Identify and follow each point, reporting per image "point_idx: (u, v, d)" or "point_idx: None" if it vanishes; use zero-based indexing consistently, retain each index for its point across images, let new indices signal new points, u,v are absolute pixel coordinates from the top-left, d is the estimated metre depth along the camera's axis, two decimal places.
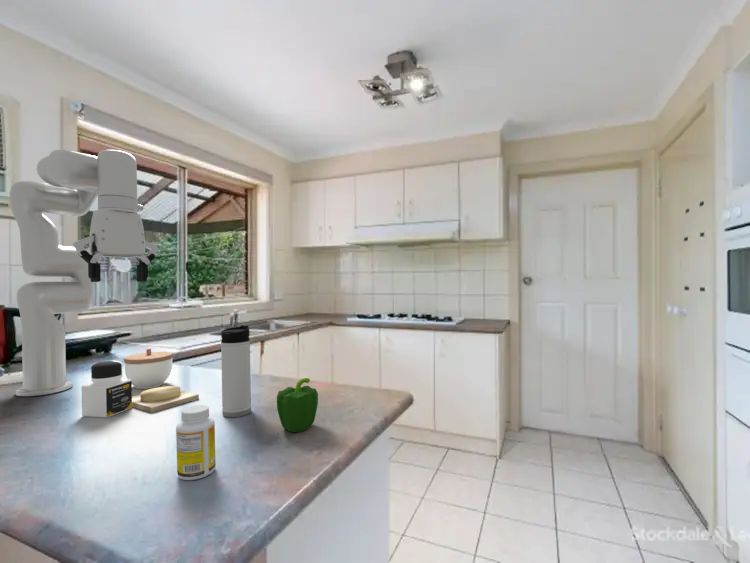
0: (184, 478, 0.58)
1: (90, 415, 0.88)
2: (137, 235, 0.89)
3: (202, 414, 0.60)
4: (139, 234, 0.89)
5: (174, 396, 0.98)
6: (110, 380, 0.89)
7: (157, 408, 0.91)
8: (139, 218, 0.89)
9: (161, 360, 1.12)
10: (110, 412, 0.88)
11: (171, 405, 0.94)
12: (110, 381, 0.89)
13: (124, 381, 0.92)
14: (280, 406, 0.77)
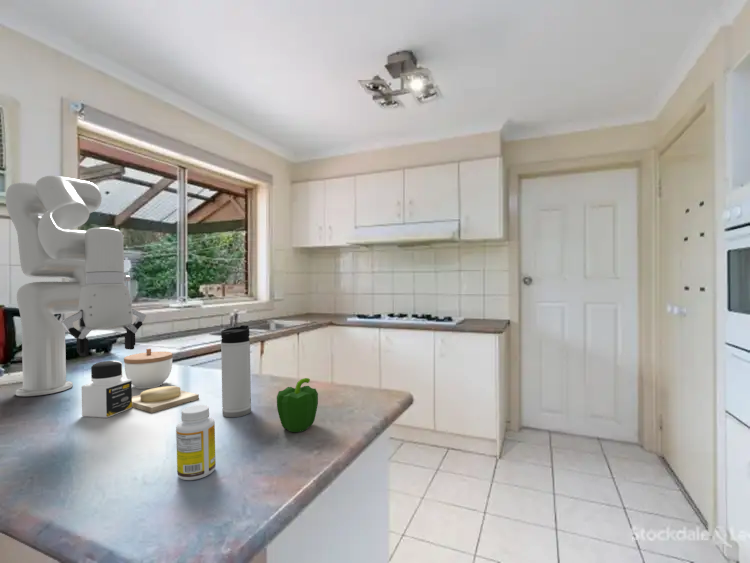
0: (184, 478, 0.58)
1: (90, 415, 0.88)
2: (124, 306, 0.92)
3: (202, 414, 0.60)
4: (126, 305, 0.93)
5: (174, 396, 0.98)
6: (110, 380, 0.89)
7: (157, 408, 0.91)
8: (126, 289, 0.93)
9: (161, 360, 1.12)
10: (110, 412, 0.88)
11: (171, 405, 0.94)
12: (110, 381, 0.89)
13: (124, 381, 0.92)
14: (280, 406, 0.77)
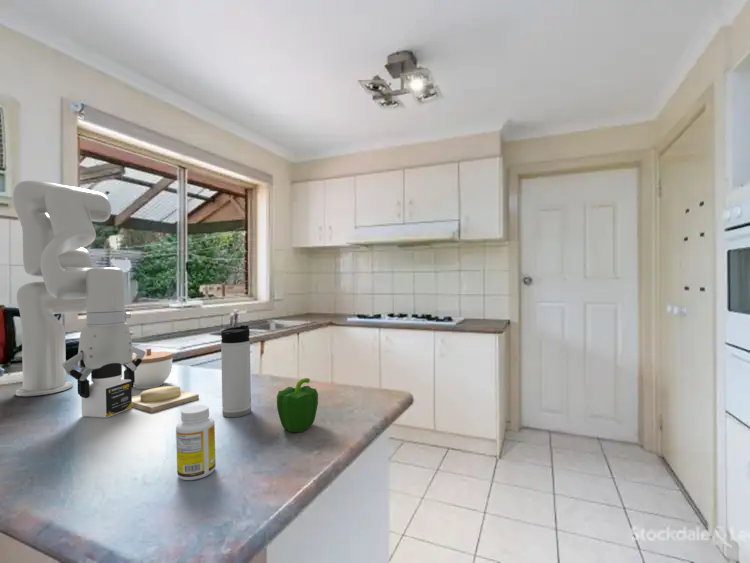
0: (184, 478, 0.58)
1: (90, 415, 0.88)
2: (124, 345, 0.92)
3: (202, 414, 0.60)
4: (126, 343, 0.93)
5: (174, 396, 0.98)
6: (110, 380, 0.89)
7: (157, 408, 0.91)
8: (126, 328, 0.93)
9: (161, 360, 1.12)
10: (110, 413, 0.88)
11: (171, 405, 0.94)
12: (110, 381, 0.89)
13: (124, 381, 0.92)
14: (280, 406, 0.77)
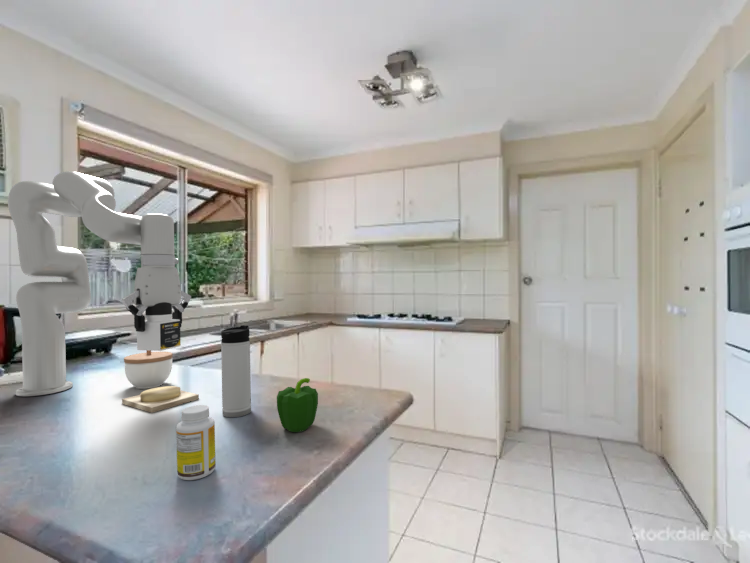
0: (184, 478, 0.58)
1: (145, 348, 0.96)
2: (174, 287, 1.00)
3: (202, 414, 0.60)
4: (176, 286, 1.01)
5: (174, 396, 0.98)
6: (163, 317, 0.97)
7: (157, 408, 0.91)
8: (176, 271, 1.01)
9: (161, 360, 1.12)
10: (163, 346, 0.96)
11: (171, 405, 0.94)
12: (162, 318, 0.97)
13: (174, 320, 1.00)
14: (280, 406, 0.77)
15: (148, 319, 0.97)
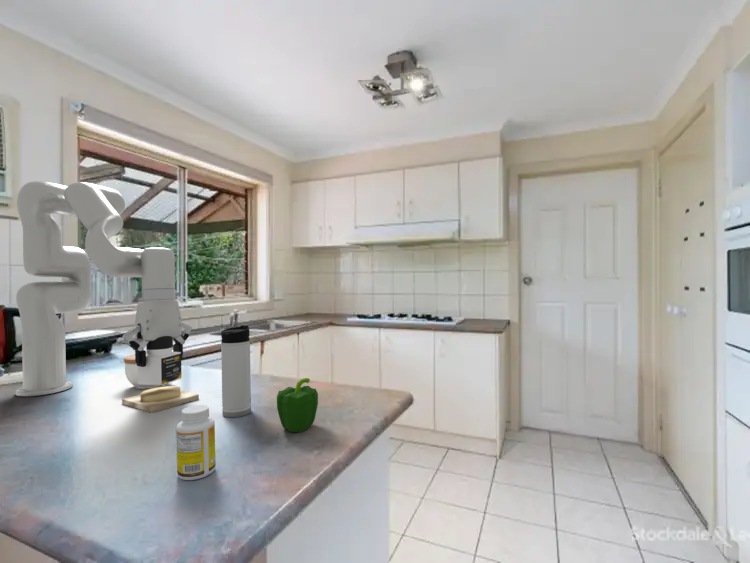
0: (184, 478, 0.58)
1: (146, 383, 0.96)
2: (175, 320, 1.00)
3: (202, 414, 0.60)
4: (177, 318, 1.01)
5: (174, 396, 0.98)
6: (164, 351, 0.97)
7: (157, 408, 0.91)
8: (176, 304, 1.01)
9: None
10: (164, 381, 0.96)
11: (171, 405, 0.94)
12: (163, 352, 0.97)
13: (175, 353, 1.00)
14: (280, 406, 0.77)
15: (149, 353, 0.97)
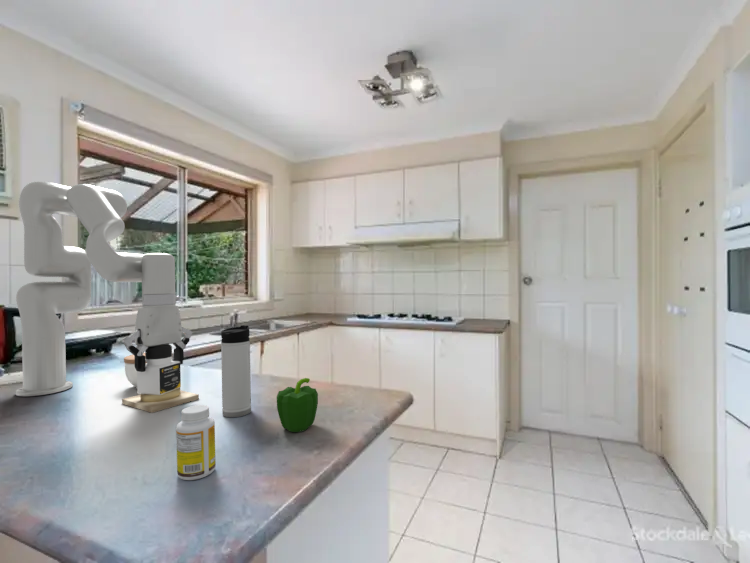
0: (184, 478, 0.58)
1: (145, 393, 0.96)
2: (175, 325, 1.00)
3: (202, 414, 0.60)
4: (177, 324, 1.01)
5: (174, 396, 0.98)
6: (162, 361, 0.97)
7: (157, 408, 0.91)
8: (176, 309, 1.01)
9: None
10: (163, 390, 0.96)
11: (171, 405, 0.94)
12: (162, 362, 0.97)
13: (174, 362, 1.00)
14: (280, 406, 0.77)
15: (148, 363, 0.97)
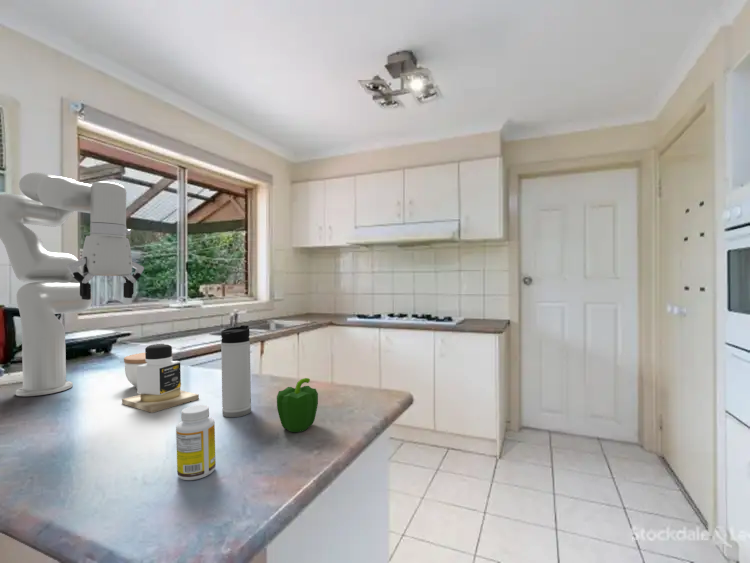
0: (184, 478, 0.58)
1: (145, 393, 0.96)
2: (125, 257, 1.00)
3: (202, 414, 0.60)
4: (126, 256, 1.00)
5: (174, 396, 0.98)
6: (162, 361, 0.97)
7: (157, 408, 0.91)
8: (127, 242, 1.00)
9: None
10: (163, 390, 0.96)
11: (171, 405, 0.94)
12: (162, 362, 0.97)
13: (174, 362, 1.00)
14: (280, 406, 0.77)
15: (148, 363, 0.97)
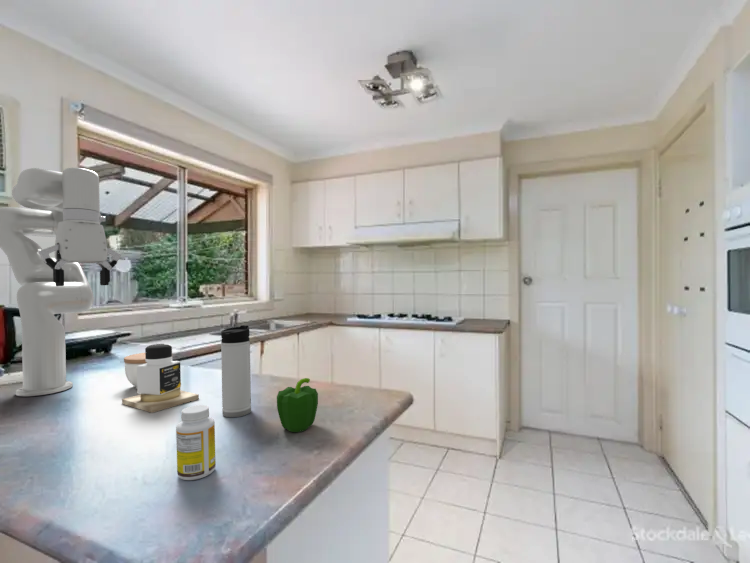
0: (184, 478, 0.58)
1: (145, 393, 0.96)
2: (99, 244, 0.99)
3: (202, 414, 0.60)
4: (101, 243, 0.99)
5: (174, 396, 0.98)
6: (162, 361, 0.97)
7: (157, 408, 0.91)
8: (101, 228, 0.99)
9: None
10: (163, 390, 0.96)
11: (171, 405, 0.94)
12: (162, 362, 0.97)
13: (174, 362, 1.00)
14: (280, 406, 0.77)
15: (148, 363, 0.97)
